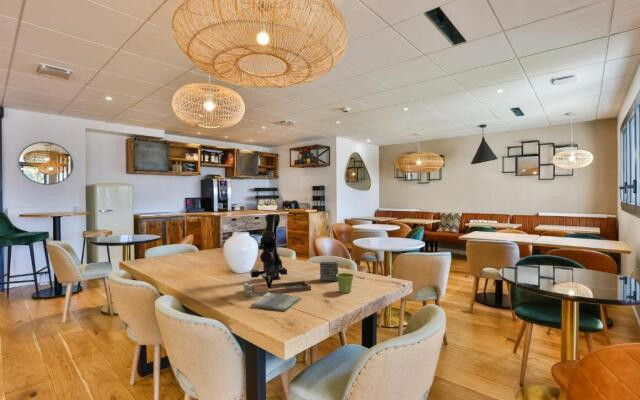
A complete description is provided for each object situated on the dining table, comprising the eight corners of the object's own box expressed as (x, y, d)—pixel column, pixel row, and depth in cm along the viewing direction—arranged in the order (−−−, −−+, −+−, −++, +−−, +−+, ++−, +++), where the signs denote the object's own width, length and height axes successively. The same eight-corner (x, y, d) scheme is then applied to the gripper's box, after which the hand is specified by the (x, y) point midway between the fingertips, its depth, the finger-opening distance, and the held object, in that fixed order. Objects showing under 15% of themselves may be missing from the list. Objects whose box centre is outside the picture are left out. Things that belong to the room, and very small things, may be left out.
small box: (338, 279, 192) (338, 261, 192) (338, 281, 185) (337, 264, 185) (321, 278, 193) (320, 261, 193) (320, 281, 186) (319, 263, 186)
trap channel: (243, 290, 170) (243, 283, 170) (304, 284, 181) (304, 277, 181) (246, 297, 159) (246, 289, 159) (311, 290, 170) (310, 282, 170)
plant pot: (356, 290, 169) (356, 273, 168) (350, 295, 160) (350, 278, 160) (340, 288, 172) (339, 272, 172) (333, 293, 164) (333, 276, 164)
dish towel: (285, 313, 138) (285, 306, 138) (250, 308, 144) (249, 301, 144) (302, 300, 155) (302, 293, 155) (270, 296, 162) (270, 290, 162)
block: (252, 292, 168) (252, 285, 168) (265, 290, 170) (265, 283, 170) (254, 296, 161) (254, 288, 161) (268, 294, 164) (268, 286, 164)
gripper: (252, 263, 158) (253, 294, 158) (289, 260, 164) (289, 290, 164) (250, 259, 168) (250, 288, 168) (284, 256, 174) (285, 285, 174)
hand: (269, 288), depth 168 cm, fingers closed
